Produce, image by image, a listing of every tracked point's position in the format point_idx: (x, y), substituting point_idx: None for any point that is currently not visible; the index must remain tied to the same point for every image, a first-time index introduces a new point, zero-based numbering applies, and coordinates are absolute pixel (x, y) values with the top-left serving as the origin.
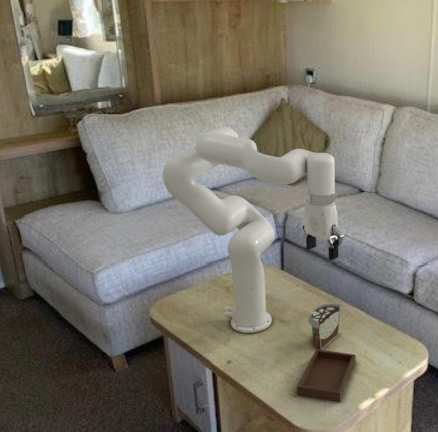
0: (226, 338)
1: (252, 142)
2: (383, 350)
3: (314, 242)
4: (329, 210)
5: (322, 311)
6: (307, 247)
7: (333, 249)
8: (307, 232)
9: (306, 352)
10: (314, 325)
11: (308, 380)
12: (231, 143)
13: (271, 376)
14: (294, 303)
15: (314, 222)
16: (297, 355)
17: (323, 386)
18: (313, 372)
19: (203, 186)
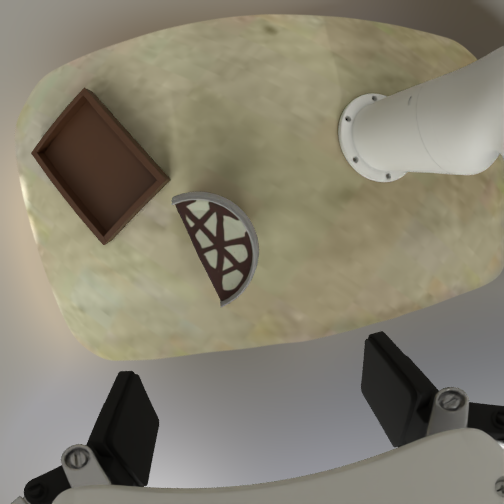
0: (352, 66)
1: None
2: (123, 310)
3: (376, 405)
4: None
5: (231, 252)
6: (378, 341)
7: (88, 443)
8: (425, 450)
9: (200, 170)
10: (185, 194)
11: (105, 123)
12: None
13: (170, 70)
14: (387, 257)
15: None
16: (202, 147)
17: (76, 142)
18: (120, 143)
19: None
